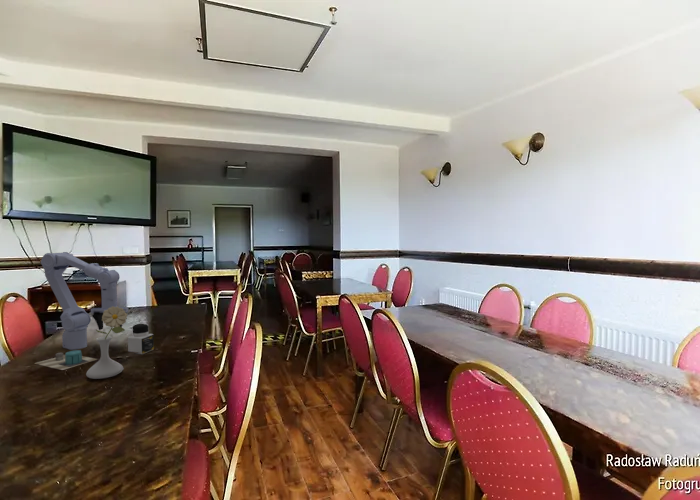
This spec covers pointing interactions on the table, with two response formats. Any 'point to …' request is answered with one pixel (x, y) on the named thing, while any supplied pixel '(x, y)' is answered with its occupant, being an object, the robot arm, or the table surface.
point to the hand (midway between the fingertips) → (110, 329)
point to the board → (62, 362)
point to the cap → (73, 357)
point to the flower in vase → (106, 364)
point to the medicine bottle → (140, 339)
